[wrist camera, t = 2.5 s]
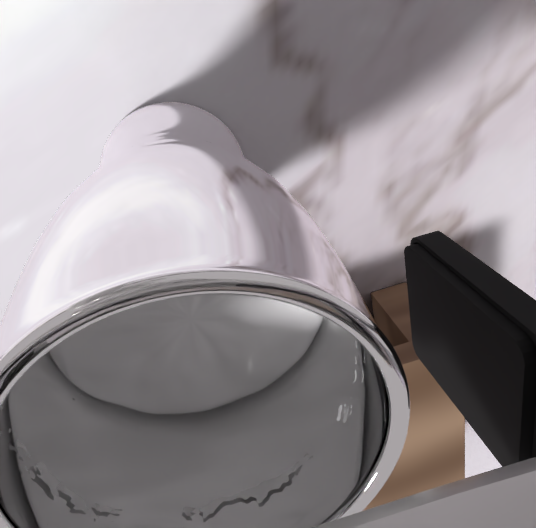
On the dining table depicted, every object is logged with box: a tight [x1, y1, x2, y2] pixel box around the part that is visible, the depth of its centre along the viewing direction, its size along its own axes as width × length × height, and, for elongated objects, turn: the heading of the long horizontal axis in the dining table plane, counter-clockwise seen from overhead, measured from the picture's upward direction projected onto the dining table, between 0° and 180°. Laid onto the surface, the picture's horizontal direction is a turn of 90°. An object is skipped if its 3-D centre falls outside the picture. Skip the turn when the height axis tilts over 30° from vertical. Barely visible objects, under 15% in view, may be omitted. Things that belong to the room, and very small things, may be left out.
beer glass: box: [0, 102, 410, 528], centre depth 13 cm, size 7×7×15 cm
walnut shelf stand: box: [363, 282, 465, 511], centre depth 26 cm, size 14×12×6 cm
